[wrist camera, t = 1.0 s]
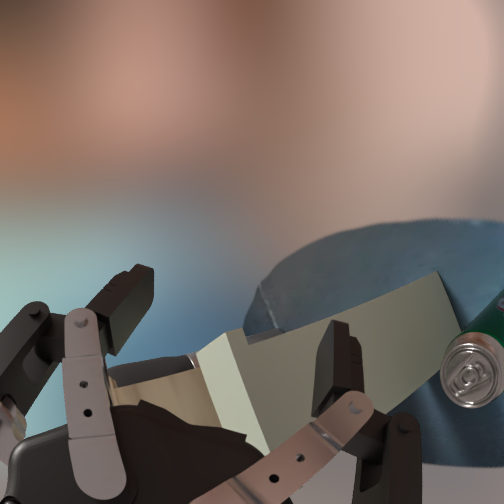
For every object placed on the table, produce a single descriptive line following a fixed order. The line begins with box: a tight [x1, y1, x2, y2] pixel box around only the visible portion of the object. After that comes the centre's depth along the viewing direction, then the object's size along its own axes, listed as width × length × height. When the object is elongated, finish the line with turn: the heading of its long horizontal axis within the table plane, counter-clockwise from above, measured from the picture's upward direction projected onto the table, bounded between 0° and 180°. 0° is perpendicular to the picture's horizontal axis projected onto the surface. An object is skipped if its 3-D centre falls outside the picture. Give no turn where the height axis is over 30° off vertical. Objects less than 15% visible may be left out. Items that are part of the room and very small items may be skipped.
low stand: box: [196, 271, 461, 489], centre depth 23 cm, size 8×10×22 cm
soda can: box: [440, 289, 504, 408], centre depth 16 cm, size 5×5×12 cm
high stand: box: [109, 367, 222, 428], centre depth 29 cm, size 8×10×30 cm
